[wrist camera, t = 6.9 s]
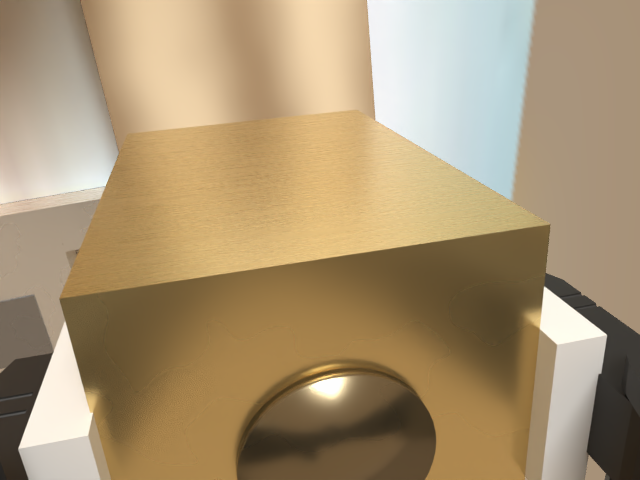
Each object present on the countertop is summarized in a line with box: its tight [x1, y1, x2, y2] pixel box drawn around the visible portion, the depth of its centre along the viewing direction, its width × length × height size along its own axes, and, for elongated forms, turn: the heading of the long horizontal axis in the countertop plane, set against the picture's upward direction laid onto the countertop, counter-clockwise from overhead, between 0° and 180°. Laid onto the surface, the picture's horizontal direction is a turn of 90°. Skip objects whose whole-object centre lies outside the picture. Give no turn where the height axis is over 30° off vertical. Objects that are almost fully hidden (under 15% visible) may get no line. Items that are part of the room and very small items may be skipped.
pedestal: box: [80, 0, 375, 153], centre depth 26 cm, size 12×12×3 cm
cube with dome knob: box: [59, 110, 550, 480], centre depth 12 cm, size 6×6×9 cm
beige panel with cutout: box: [0, 187, 105, 373], centre depth 30 cm, size 22×11×2 cm, turn 97°
